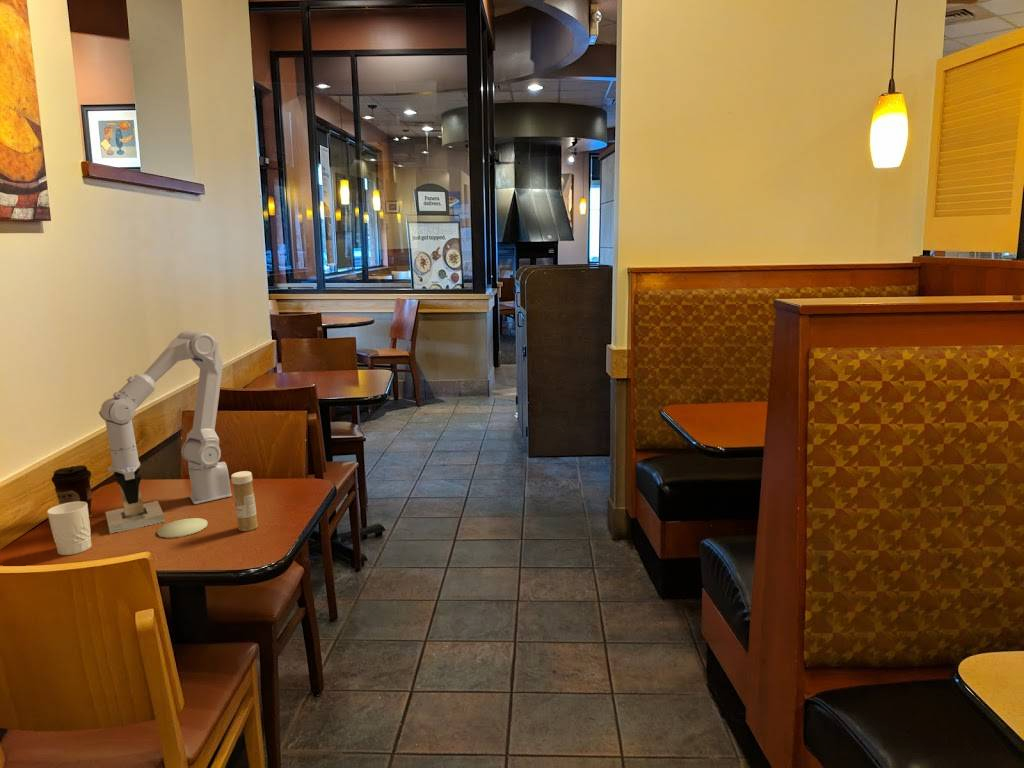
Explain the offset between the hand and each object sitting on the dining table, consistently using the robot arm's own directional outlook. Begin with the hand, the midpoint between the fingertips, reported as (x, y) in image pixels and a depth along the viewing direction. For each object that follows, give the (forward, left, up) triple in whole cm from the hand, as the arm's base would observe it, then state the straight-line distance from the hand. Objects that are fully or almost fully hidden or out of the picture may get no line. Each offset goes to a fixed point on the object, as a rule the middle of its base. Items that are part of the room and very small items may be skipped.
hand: (132, 500), depth 187 cm
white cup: (+13, +11, -6) cm, 18 cm away
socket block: (0, 0, -5) cm, 5 cm away
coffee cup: (+12, -12, -6) cm, 18 cm away
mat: (-9, +14, -5) cm, 17 cm away
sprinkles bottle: (-22, +24, -6) cm, 33 cm away
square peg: (0, 0, -3) cm, 3 cm away
